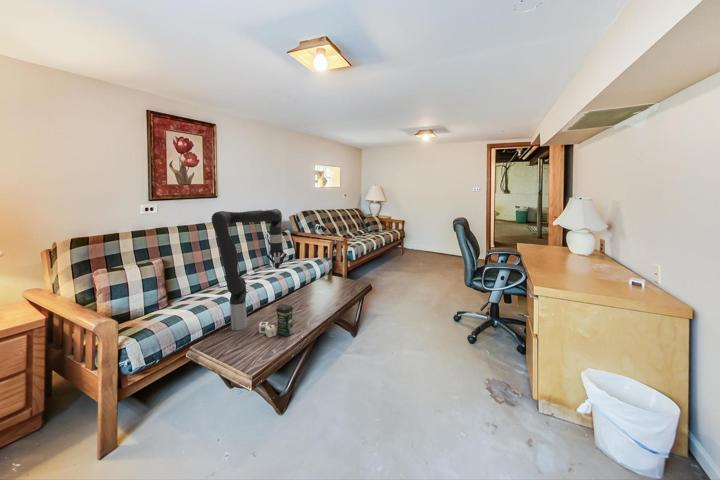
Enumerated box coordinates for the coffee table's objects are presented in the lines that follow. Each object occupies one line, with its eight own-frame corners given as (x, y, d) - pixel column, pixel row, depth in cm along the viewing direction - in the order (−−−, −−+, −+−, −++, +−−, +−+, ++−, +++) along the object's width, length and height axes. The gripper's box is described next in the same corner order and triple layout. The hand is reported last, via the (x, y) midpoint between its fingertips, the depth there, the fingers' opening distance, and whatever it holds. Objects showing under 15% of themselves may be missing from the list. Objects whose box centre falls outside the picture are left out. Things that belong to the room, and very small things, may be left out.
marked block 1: (259, 333, 180) (258, 325, 179) (260, 329, 185) (260, 321, 184) (267, 332, 181) (266, 325, 180) (268, 329, 186) (268, 321, 185)
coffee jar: (275, 334, 180) (273, 305, 176) (283, 328, 186) (282, 301, 183) (287, 337, 175) (285, 308, 172) (295, 332, 182) (294, 304, 179)
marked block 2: (268, 338, 174) (268, 330, 173) (265, 334, 179) (265, 326, 179) (277, 336, 177) (276, 328, 176) (273, 332, 182) (273, 324, 181)
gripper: (265, 243, 174) (266, 271, 177) (287, 241, 179) (288, 268, 182) (264, 241, 181) (265, 268, 184) (285, 239, 186) (286, 266, 189)
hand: (277, 268), depth 183 cm, fingers closed
